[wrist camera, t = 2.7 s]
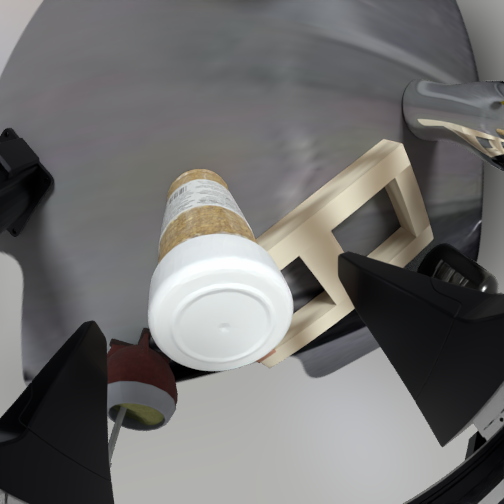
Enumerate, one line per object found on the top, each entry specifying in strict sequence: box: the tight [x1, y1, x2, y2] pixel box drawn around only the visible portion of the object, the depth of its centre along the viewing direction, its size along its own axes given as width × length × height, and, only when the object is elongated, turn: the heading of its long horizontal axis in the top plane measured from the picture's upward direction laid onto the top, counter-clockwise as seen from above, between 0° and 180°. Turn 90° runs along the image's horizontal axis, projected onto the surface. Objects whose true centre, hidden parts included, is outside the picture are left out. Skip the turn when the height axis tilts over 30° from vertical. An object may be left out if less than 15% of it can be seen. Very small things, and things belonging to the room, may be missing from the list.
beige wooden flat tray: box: [256, 139, 434, 368], centre depth 23 cm, size 21×11×3 cm, turn 127°
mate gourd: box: [107, 328, 178, 467], centre depth 18 cm, size 8×8×15 cm
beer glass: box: [403, 79, 504, 171], centre depth 13 cm, size 7×7×15 cm
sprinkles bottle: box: [148, 169, 293, 371], centre depth 14 cm, size 5×5×13 cm
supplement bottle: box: [419, 243, 503, 294], centre depth 24 cm, size 7×7×12 cm
